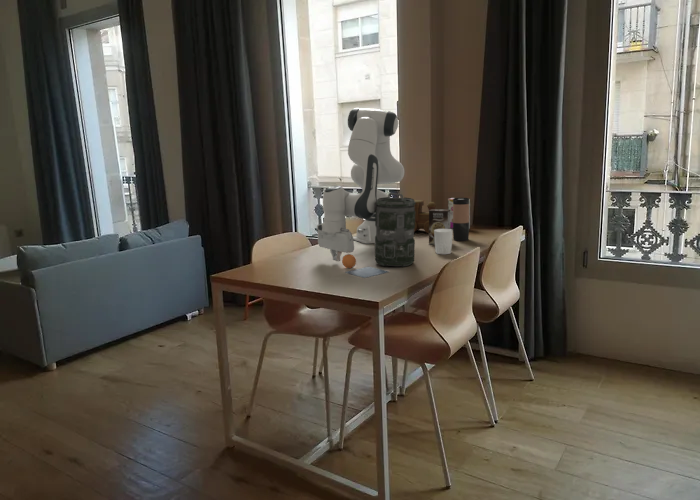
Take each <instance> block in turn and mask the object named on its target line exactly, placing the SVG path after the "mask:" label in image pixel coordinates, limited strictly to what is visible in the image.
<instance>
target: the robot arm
mask: <svg viewBox="0 0 700 500" xmlns="http://www.w3.org/2000/svg"><path fill="white" fill-rule="evenodd" d="M398 127H399V120H398V115H397V114H396V113H395V112H393V111H391V110H390V111H389V110H388V111H386V110H382V109H379V108H378V109H377V108H362V107H355V108H352V109H351V110H350V111H349V113H348V116H347V128H349V130H350V131H351V135H350V139H349V141H348V142H349V143H348V148H347V155H348V157H349V159H350V161H351V162H352V163H353V165H352V167H351V169H350V177H351V180H352V181H353V182H354V183H355V184H356V185H357V186H358V187H360V188H361V190H362V191H361V192H360V193H359V192H358V193H357V192H355V193H354V192H351V191H347V190H345V189H344V188H343V187H342V186H341V185H333V186H328V187H326V188H325V189H324V191H323V195H322V209H323V213H324V217H323V222H322V223H319V224H317V225H316V229H317V244H318V246H319V248H324V249H327V250H329V251H330V253H331V257H332V260H333V261H335V262H339V261H341V256H342V253H346V254H349V253H350V254H351V253H353V252H354V250H355V243H354V241H355V242H359V243H362V244H375V236H376V226H375V210H376V206H377V205H376V201H377V200H378V199H379V198H385V197H388V194H389V193H386V192H384V191H382V190H380V189H378V185H385V184H386V185H387V184H391V185H392V184H395V183H401V181H402V180H403V178H404V176H405V168H404V165H403V164H402V163H401V162H400V161H399V160H397V159H396V158H395V157H394V156H393V154H392V152H391V144H390V143H391V138H390V137H392V136H394V135H395V134H396V132H397V129H398ZM346 217H352V218H359V219H363V220H364V221H363V222H362V223H361V224H359V225H358V226H357V228H356V236H353V234H352V232H351V231H350V229H349V228H347V224H346V223H347V222H346V219H347V218H346Z"/></svg>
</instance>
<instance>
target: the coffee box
mask: <svg viewBox="0 0 700 500" xmlns="http://www.w3.org/2000/svg"><path fill="white" fill-rule="evenodd" d="M428 212H429V233H428V245H433V246H435V239H434V230H436V229H450V210H448V208H447V209H445V208H444V209H443V208H442V209H440V208H438V209H437V208H435V209H431V210H429V209H428Z"/></svg>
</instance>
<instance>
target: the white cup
mask: <svg viewBox="0 0 700 500" xmlns="http://www.w3.org/2000/svg"><path fill="white" fill-rule="evenodd" d="M434 239H435V245H434V247H435V248H434V249H435V250H434V251H435V254H437V255H449V254H451V253H452V247H453V229H436V230H434Z"/></svg>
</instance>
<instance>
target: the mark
mask: <svg viewBox="0 0 700 500" xmlns="http://www.w3.org/2000/svg"><path fill="white" fill-rule="evenodd" d="M389 272H390V271H388V270H385V269H380V268H378V267H377V268H376V267H372V266H365V267H362V268H357V269H356V268H355V269H352V270H348V271H345V272H344V273H345V274H349V275H353V276H355V277H360V278H362V279H366V278H371V277H374V276H375V277H376V276H378V275H383V274H387V273H389Z"/></svg>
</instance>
